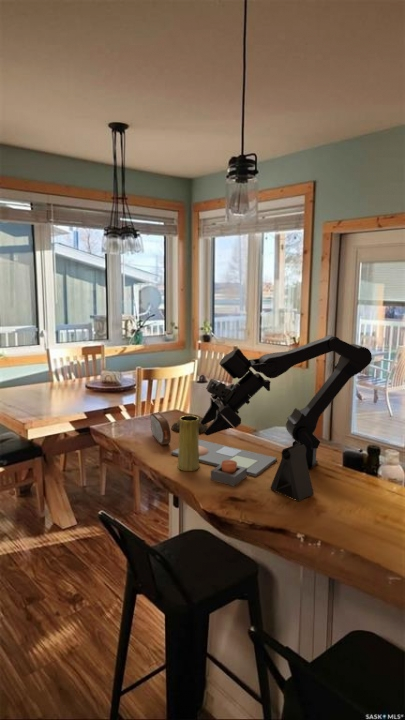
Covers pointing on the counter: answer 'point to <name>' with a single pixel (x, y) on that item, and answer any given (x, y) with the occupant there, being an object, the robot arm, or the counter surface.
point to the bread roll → (201, 427)
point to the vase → (188, 443)
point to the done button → (229, 466)
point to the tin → (160, 428)
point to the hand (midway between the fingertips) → (203, 428)
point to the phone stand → (293, 474)
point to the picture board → (232, 457)
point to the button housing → (228, 475)
